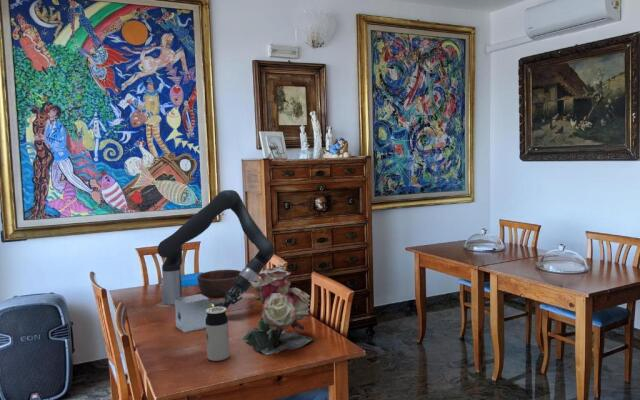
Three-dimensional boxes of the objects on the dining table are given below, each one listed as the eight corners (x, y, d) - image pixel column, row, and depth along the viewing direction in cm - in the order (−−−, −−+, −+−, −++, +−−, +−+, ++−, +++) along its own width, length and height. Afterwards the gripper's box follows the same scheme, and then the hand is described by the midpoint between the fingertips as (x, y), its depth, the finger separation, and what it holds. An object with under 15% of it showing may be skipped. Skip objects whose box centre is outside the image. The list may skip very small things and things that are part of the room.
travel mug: (230, 352, 195) (228, 305, 193) (227, 361, 187) (225, 312, 185) (209, 353, 195) (207, 306, 193) (205, 362, 187) (203, 313, 185)
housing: (184, 332, 219) (182, 303, 218) (176, 326, 228) (174, 298, 227) (210, 326, 226) (209, 298, 225) (202, 321, 234) (200, 293, 233)
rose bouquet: (268, 360, 187) (265, 278, 184) (236, 337, 211) (233, 265, 209) (328, 344, 200) (325, 268, 198) (291, 325, 225) (289, 256, 222)
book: (161, 277, 309) (202, 271, 321) (161, 284, 309) (202, 278, 321) (168, 283, 294) (210, 276, 306) (168, 290, 294) (211, 283, 306)
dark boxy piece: (184, 329, 221) (183, 310, 221) (179, 326, 226) (178, 307, 226) (224, 320, 232) (223, 302, 231) (219, 317, 237) (218, 299, 236)
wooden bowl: (194, 291, 289) (193, 272, 288) (237, 285, 300) (236, 267, 299) (203, 301, 267) (202, 282, 266) (250, 294, 277) (249, 276, 276)
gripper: (234, 271, 244) (210, 302, 238) (246, 276, 233) (222, 308, 227) (244, 281, 247) (222, 311, 242) (257, 286, 236) (234, 317, 231)
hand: (222, 309), depth 234 cm, fingers closed
